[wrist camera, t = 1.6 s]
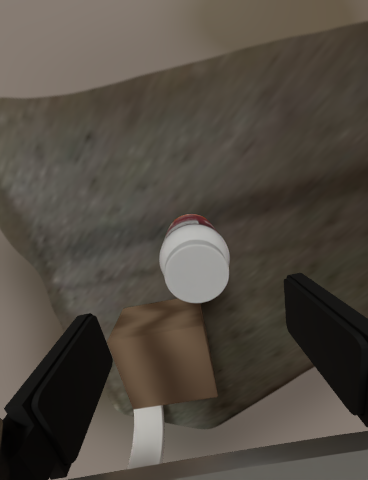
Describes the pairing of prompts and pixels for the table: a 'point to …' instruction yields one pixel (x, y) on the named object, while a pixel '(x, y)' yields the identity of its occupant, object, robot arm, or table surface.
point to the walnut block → (163, 353)
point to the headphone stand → (147, 437)
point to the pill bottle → (194, 259)
